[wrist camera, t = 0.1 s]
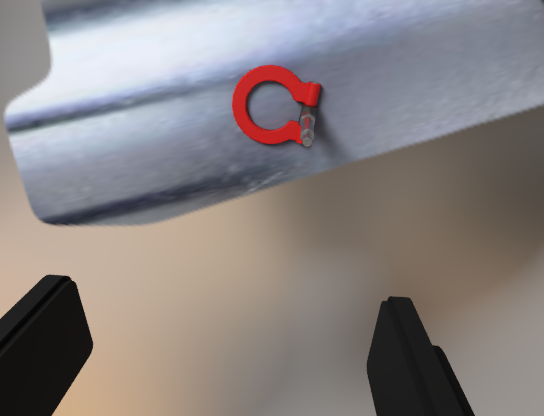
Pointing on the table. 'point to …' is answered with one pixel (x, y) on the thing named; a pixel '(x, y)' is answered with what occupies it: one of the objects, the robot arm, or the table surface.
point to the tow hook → (299, 91)
